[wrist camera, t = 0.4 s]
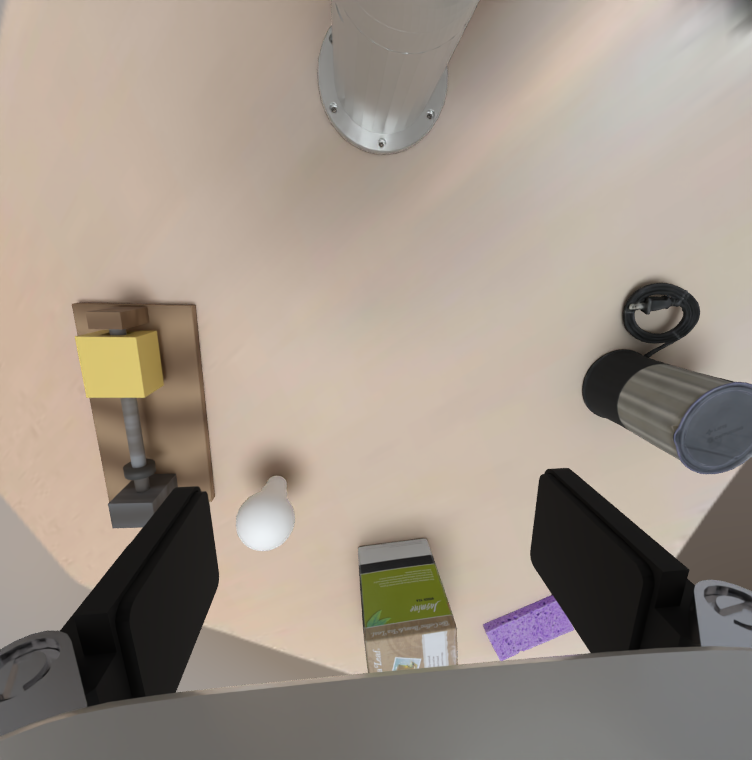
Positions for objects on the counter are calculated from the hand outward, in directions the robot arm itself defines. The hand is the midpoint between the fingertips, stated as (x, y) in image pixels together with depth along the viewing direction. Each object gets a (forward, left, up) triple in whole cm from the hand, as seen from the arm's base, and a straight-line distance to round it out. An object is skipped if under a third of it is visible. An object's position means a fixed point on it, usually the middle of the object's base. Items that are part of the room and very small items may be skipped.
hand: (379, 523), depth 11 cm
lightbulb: (+19, -9, -35) cm, 41 cm away
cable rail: (+9, -23, -35) cm, 43 cm away
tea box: (+36, +7, -35) cm, 51 cm away
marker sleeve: (+3, -23, -32) cm, 40 cm away
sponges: (+45, +28, -36) cm, 64 cm away
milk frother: (+2, +35, -35) cm, 50 cm away
